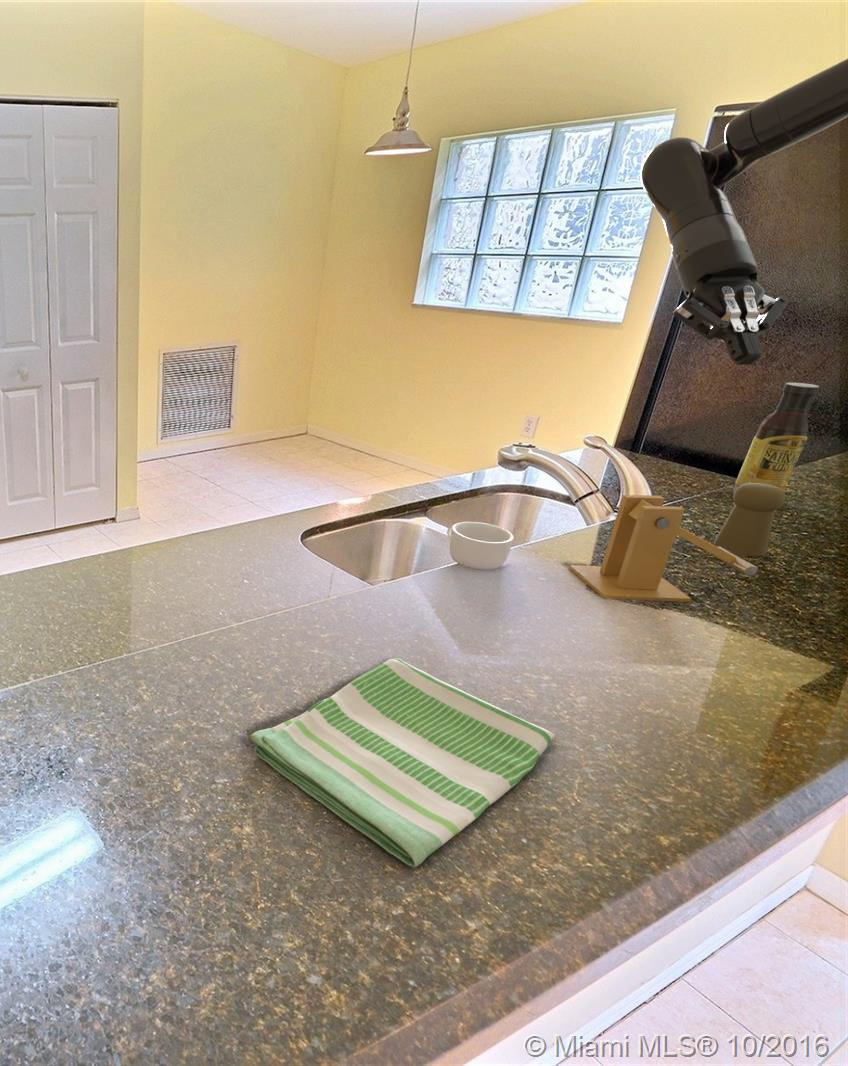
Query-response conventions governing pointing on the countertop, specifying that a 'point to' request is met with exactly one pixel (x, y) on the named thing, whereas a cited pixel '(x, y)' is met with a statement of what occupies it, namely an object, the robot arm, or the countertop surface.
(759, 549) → the cork
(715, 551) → the tap lever
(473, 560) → the teacup
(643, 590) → the bracket
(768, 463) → the sauce bottle
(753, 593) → the countertop surface
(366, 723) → the dish towel
